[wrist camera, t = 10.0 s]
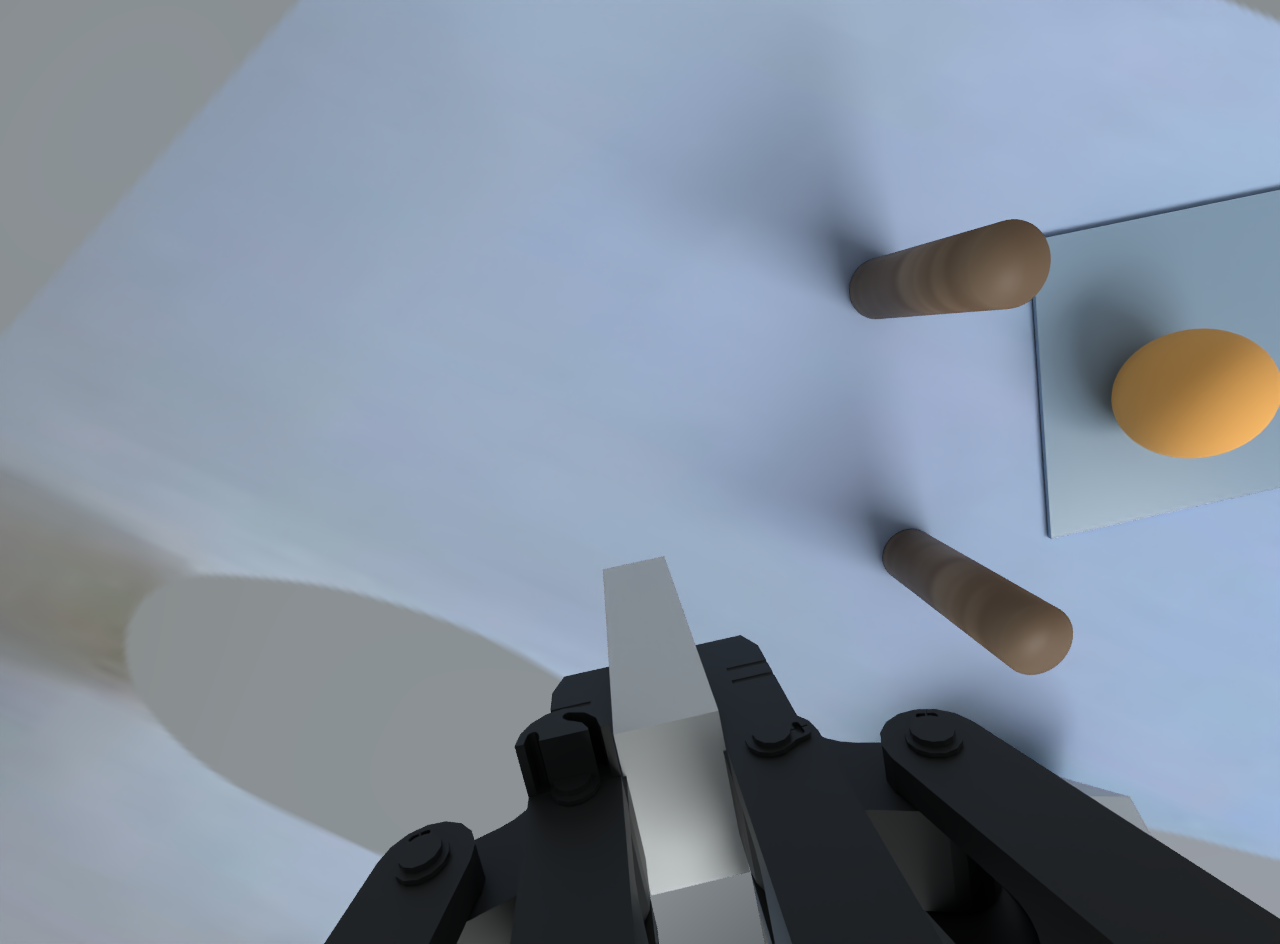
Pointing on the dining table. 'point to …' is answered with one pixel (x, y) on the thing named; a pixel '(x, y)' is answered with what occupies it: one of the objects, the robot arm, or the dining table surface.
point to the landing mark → (1126, 321)
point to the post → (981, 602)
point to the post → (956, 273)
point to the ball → (1196, 393)
